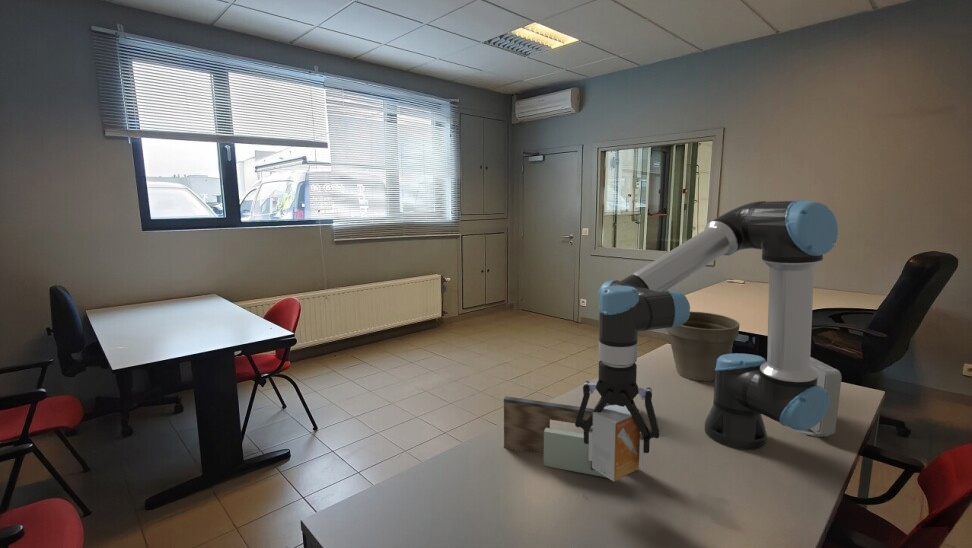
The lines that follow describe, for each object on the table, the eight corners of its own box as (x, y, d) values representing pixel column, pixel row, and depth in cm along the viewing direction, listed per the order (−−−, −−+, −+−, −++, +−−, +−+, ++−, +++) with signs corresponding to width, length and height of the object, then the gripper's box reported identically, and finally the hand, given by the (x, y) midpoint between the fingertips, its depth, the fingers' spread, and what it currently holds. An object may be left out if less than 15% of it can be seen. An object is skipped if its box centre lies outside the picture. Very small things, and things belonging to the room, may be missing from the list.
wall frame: (638, 468, 110) (640, 415, 108) (637, 472, 108) (640, 418, 106) (505, 444, 121) (505, 396, 119) (503, 447, 119) (503, 399, 117)
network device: (757, 401, 146) (762, 342, 143) (784, 401, 146) (790, 342, 143) (811, 442, 121) (818, 372, 118) (844, 443, 121) (852, 372, 117)
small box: (614, 482, 91) (615, 423, 89) (591, 468, 96) (591, 411, 94) (640, 469, 95) (641, 411, 93) (616, 455, 101) (617, 401, 98)
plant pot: (731, 393, 152) (736, 332, 149) (656, 378, 166) (659, 322, 162) (737, 370, 173) (742, 316, 170) (670, 359, 186) (673, 308, 183)
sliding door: (611, 473, 107) (612, 438, 105) (610, 481, 104) (611, 445, 102) (545, 461, 112) (545, 427, 111) (542, 468, 109) (542, 433, 108)
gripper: (675, 360, 92) (670, 460, 95) (566, 350, 99) (566, 444, 103) (677, 373, 85) (672, 481, 88) (560, 362, 92) (560, 462, 96)
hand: (615, 461), depth 95 cm, fingers closed on small box, 10 cm apart
